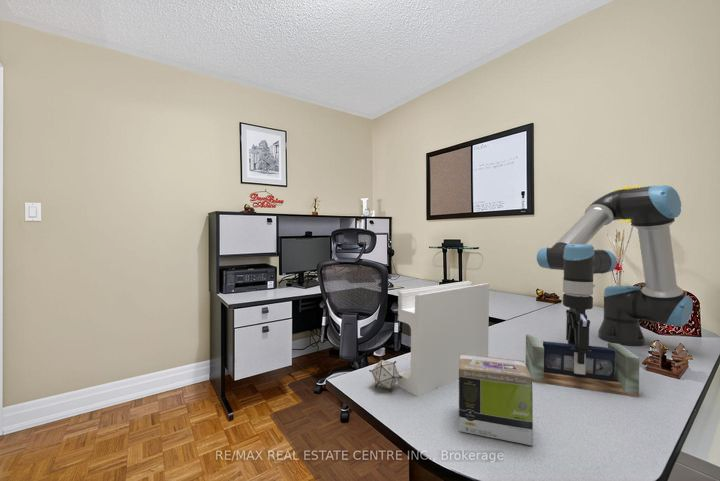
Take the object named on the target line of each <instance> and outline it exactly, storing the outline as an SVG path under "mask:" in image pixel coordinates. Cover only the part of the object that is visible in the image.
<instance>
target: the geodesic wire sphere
mask: <svg viewBox="0 0 720 481" xmlns="http://www.w3.org/2000/svg"><path fill="white" fill-rule="evenodd" d="M379 360H380V361H378V363H377V364H376V365H375V366H374V367H373V369H369V370H368V371H369V372H370V373H371V374H372V376H373V377H372V378H373V380H374V381H375V385H374V387H375V388H377V387H378V386H379V387H381V388H384V389H387V390H389V392H390V393H392V389H393V386H394V385H395V384H397V382H398V379H399V378H402V377H401V376H399V374H398V373H399V372H398V369H397V366H396V364H397V361H396V360H394V361H392V362H391V361H387V360H384V359H382V357H379Z"/></svg>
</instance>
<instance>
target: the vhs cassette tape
mask: <svg viewBox="0 0 720 481" xmlns="http://www.w3.org/2000/svg"><path fill="white" fill-rule="evenodd" d="M542 345H543V347H544V372H546V373H553V374H561V375H568V376H575V377H583V378H590V379H598V380H605V381H612V382H614V375H615V374H614V371H615V351H614V349H612V348H608V347H606V346H605V347H604V346H596V345H594V346H593V345H589V353H586V363H585V375H583V374H576V373H574V352H573V350H575V344H568V342H567V343H565V342H557V341H556V342H555V341H545V340H543V341H542ZM573 347H574V348H573Z"/></svg>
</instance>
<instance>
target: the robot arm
mask: <svg viewBox="0 0 720 481" xmlns="http://www.w3.org/2000/svg"><path fill="white" fill-rule="evenodd" d="M681 213H682V202H681V198H680V194H679V193H678V191H677V190H676V189H675V187H672V186H671V185H649V186H643V187H642V186H641V187H635V188H634V187H633V188H625V189H617V190H614V191H612V192H611V191H610V192H609V193H606V194H604V195H603V196H601V197H598V198H597V199H596V200H594V201H593V202H592V203H590V205H588V206H587V208H585V211H584V215H583V216H581V217H580V219H579V220H577V222H575V223H574V225H573V226H571V227H570V228H569V229H568V230H567V231H566V233H564V234H563V236H561V238H560V239H558V240H557V241H556V242H555V243H554V244H553V245H552V246H551V247H542V248H540V249H539V250H538V251H537V253H536V261H537V264H538V265H539V267H540V268H544V269H548V270H549V269H550V270H558V271H563V279H562V292H563V293H564V294H562V305H563V307H566V308H569V309H566V310H565V312H566V313H565V315H566V327H565V328H566V330H565V331H566V332H565V333H566V334H565V336H566V337H565V340H566V341H567V344H575V350H573V352H574V373H576V374H583V375H585V363H586V353H589V346H590V326H591V325H590V324H591V320H590V319H588V315H587V314H586V310H592V309H593V308H594V298H593V294H594V288H595V287H596V285H595V284H594V274H597V275H598V274H601V275H602V274H606V273H609V272H612V271H614V269H615V268H616V267H617V264H618V261H617V260H618V259H617V257H616V256H615V254H614V253H613V252H612V251H610V250H605V249H594V246H593V245H592V244H589V241H590V240H592V239H593V238H594V237H595V235H596V234H598V232H599V231H600V230H601V229H602V228H603V227H604V226H607V225H609V224H611V223H612V222H613V221H618V220H630V221H631V222H630V223H631V226H632V227H633V228H636V229H637V233H638V239H639V240H638V241H639V242H638V243H639V247H640V248H639V249H640V256H641V261H642V262H641V263H642V268H643V275H644V282H645V286H643V287H642V288H641V287H640V286H638V285H612V286H611V285H610V286H606V287H605V288H604V293H603V296H602V297H603V320H602V322H601V324H600V326H599V328H598V331H597V332H598V333H597V334H598V335H597V336H598V338H599V339H602V340H604V341H606V342H608V343H616V344H620V345H622V346H624V345H625V346H631V347H632V346H635V347H637V346H638V347H639V346H644V345H645V336H644V334H643V331H642V328H641V326H640V320H641V321H648V322H652V323H657V324H662V325H666V326H673V327H684V326H685V325H686V324H687V323H688V322H689V320H690V317H691V316H692V313H693V312H692V311H693V307H694V300H693V299H692V297H690V296H688V295H685V293H684V289H682V288H681V287H680V286H678V283H677V276H676V270H675V268H676V267H675V261H674V260H675V259H674V252H673V251H674V250H673V244H672V237H671V228H670V226H671V225H672V224H674V223H675V220H676V218H677V217H679V216H680V215H681ZM573 348H574V347H573Z"/></svg>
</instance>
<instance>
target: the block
mask: <svg viewBox="0 0 720 481" xmlns="http://www.w3.org/2000/svg"><path fill="white" fill-rule="evenodd" d="M472 284H473V282H472V281H471V280H465V281H464V280H463V281H459V282H458V281H457V282H451V283H450V282H449V283H445V284H436V285H430V286H423V287H414V288H409V289H401V290H398V291H397V292H398V293H397V294H398V297H397V299H398V300H397V305H398V307H397V315H398V316H397V321H399V322H402V323H404V324H407V325H408V326H409V327H410V369H407V370H404V371H401V372H398V374H399V376H401V377H402V378H399V379H398V380H397V386H398V387H400V388H402V389H403V390H405V391H406V392H409V393H410V394H411V395H413V396H416V397H418V398H419V397H421V396H424V395H425V394H427V393H430V392H432V391H434V390H436V389H438V388H442V387H443V386H445V385H447V384H449V383H451V382H454V381H456V380H459V357H460V354H466V355H476V356H485V357H489V330H490V329H489V323H490V322H489V316H490V315H489V314H490V313H489V312H490V304H489V303H490V283H489V282H488V283H487V282H486V283H480V284H474V285H472Z"/></svg>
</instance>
